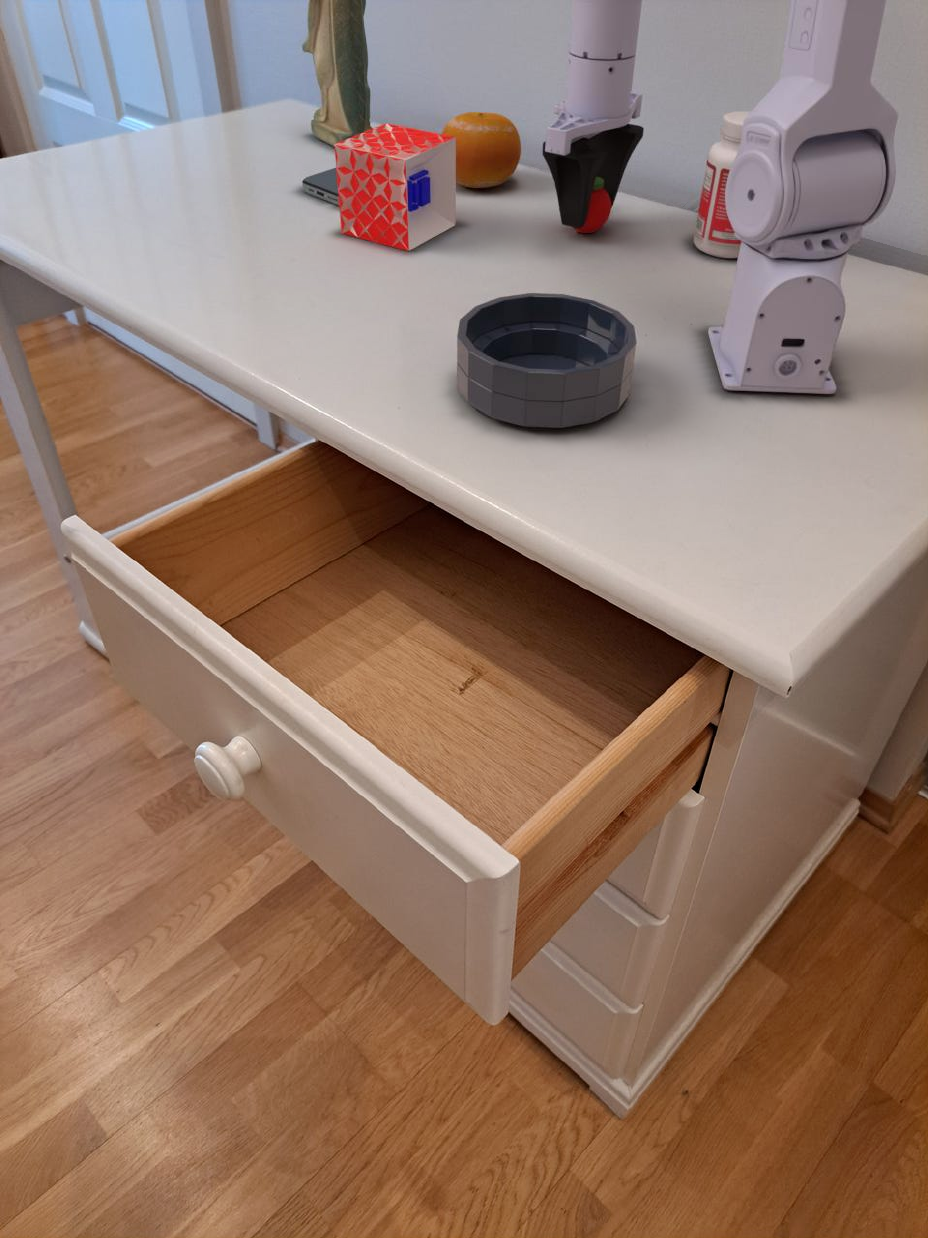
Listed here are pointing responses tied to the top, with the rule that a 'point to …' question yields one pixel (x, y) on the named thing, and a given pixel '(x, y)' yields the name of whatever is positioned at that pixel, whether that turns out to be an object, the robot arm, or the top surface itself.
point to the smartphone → (323, 186)
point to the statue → (339, 68)
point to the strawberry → (597, 208)
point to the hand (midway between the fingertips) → (586, 216)
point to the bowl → (545, 359)
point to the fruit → (484, 148)
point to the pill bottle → (719, 192)
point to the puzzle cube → (396, 185)
